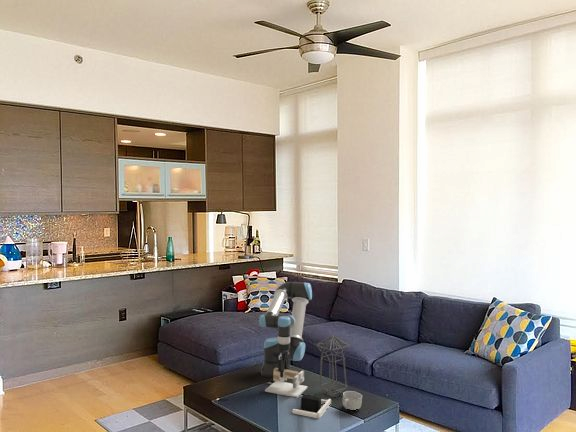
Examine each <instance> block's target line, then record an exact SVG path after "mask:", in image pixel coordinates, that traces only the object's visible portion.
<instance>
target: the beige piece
mask: <svg viewBox="0 0 576 432" xmlns="http://www.w3.org/2000/svg"><path fill="white" fill-rule="evenodd" d="M284 372H285V378H287V380H288V379H289V380H290V379H291V380H292V384H293V388H296V387H298V386H299V385H301V384H302V383H303V382H304V381H305V370H301V371H300V372H299V371H297V370H291V369H287V370H286V369H284ZM272 379H273V381H274V382H275V381H280V372H279V371H278V368H275V369H274V372H273V378H272Z"/></svg>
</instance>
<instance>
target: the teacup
mask: <svg viewBox="0 0 576 432" xmlns="http://www.w3.org/2000/svg"><path fill="white" fill-rule="evenodd" d="M362 402H363V394H361V393H359V392H357V391H355V390H354V391H353V390H346V391H343V395H342V402H341V403H342V406H343V407H344V408H345V409H346V410H347V409H350V410H356V409H358V410H359V409H361V407H362ZM356 411H357V410H356Z"/></svg>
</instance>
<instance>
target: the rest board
mask: <svg viewBox="0 0 576 432" xmlns="http://www.w3.org/2000/svg"><path fill="white" fill-rule="evenodd" d="M307 389H308V386H307V385H301V384H300V385H299V386H298V387H296V388H293V382H292V383H291V382H287V381H284V383H283V382H280V380H279V381H274V382H273V383H271V384H270V385H269V386H268V387H267V388H265V389H264V392H267V393H272V394H275V395H276V394H277V395H281V396H288V397H292V398H297V399H298V397H300V396H301V395H302V394H303V393H304V392H305V391H306V390H307Z"/></svg>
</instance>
